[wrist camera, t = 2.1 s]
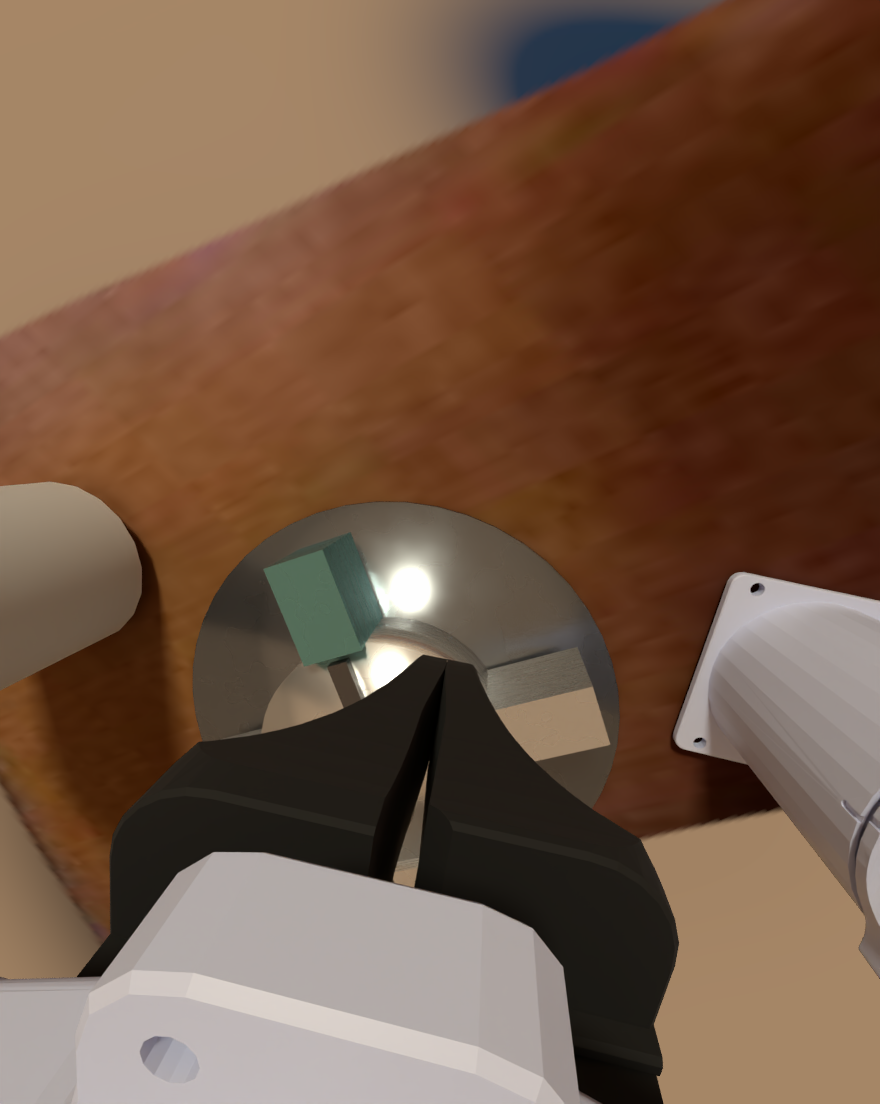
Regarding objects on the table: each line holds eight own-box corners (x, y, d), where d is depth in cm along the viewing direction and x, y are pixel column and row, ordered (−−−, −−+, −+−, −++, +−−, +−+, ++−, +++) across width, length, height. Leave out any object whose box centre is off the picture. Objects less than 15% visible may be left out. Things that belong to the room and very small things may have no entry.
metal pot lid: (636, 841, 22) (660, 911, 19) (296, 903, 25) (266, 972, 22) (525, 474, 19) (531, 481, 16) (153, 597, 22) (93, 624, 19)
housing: (678, 557, 19) (748, 602, 14) (555, 933, 24) (571, 1075, 19) (211, 458, 21) (110, 464, 15) (182, 833, 26) (98, 939, 20)
